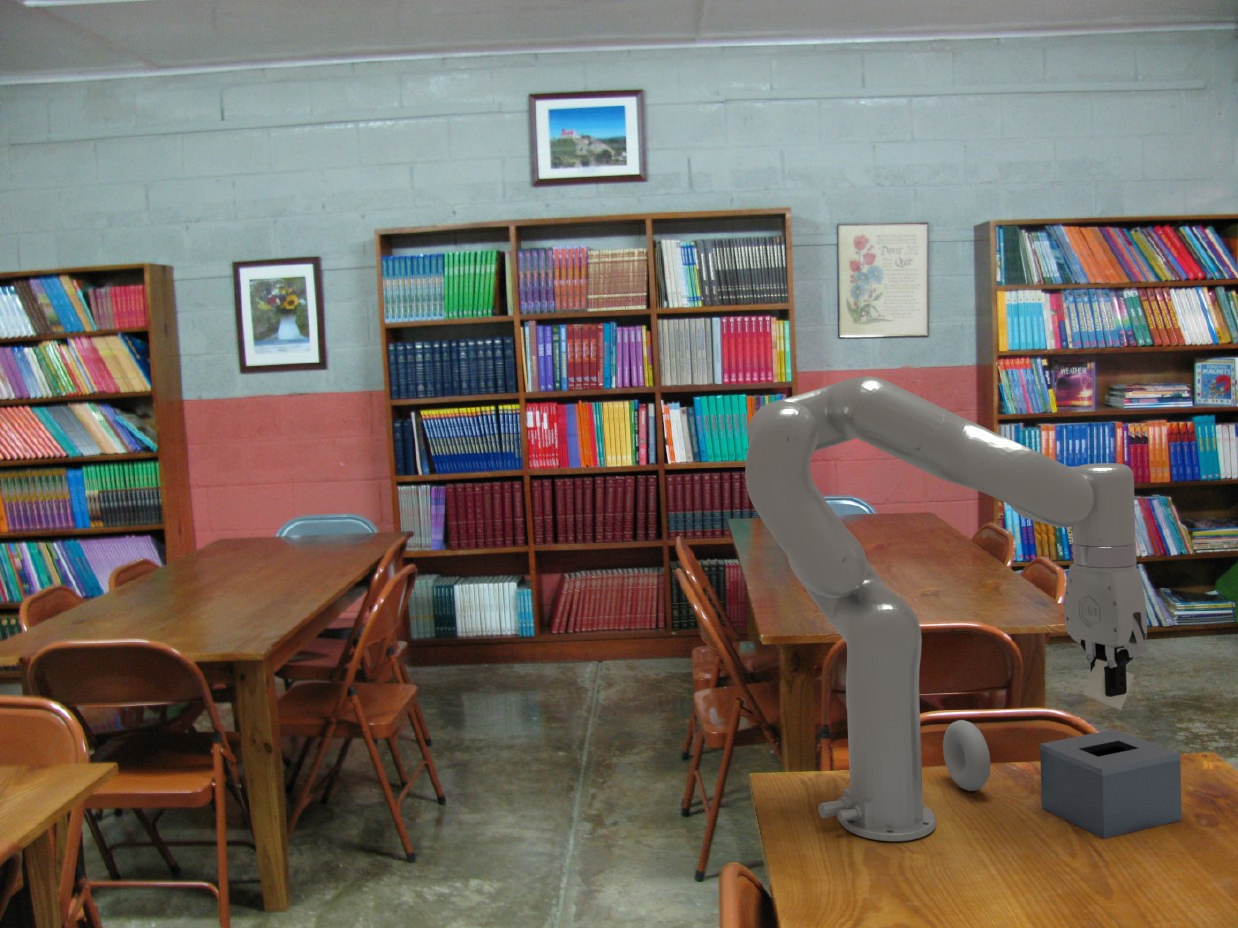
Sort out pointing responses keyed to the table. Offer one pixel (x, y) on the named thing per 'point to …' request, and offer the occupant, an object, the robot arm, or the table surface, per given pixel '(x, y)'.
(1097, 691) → the token
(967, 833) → the table surface
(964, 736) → the donut
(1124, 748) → the box
